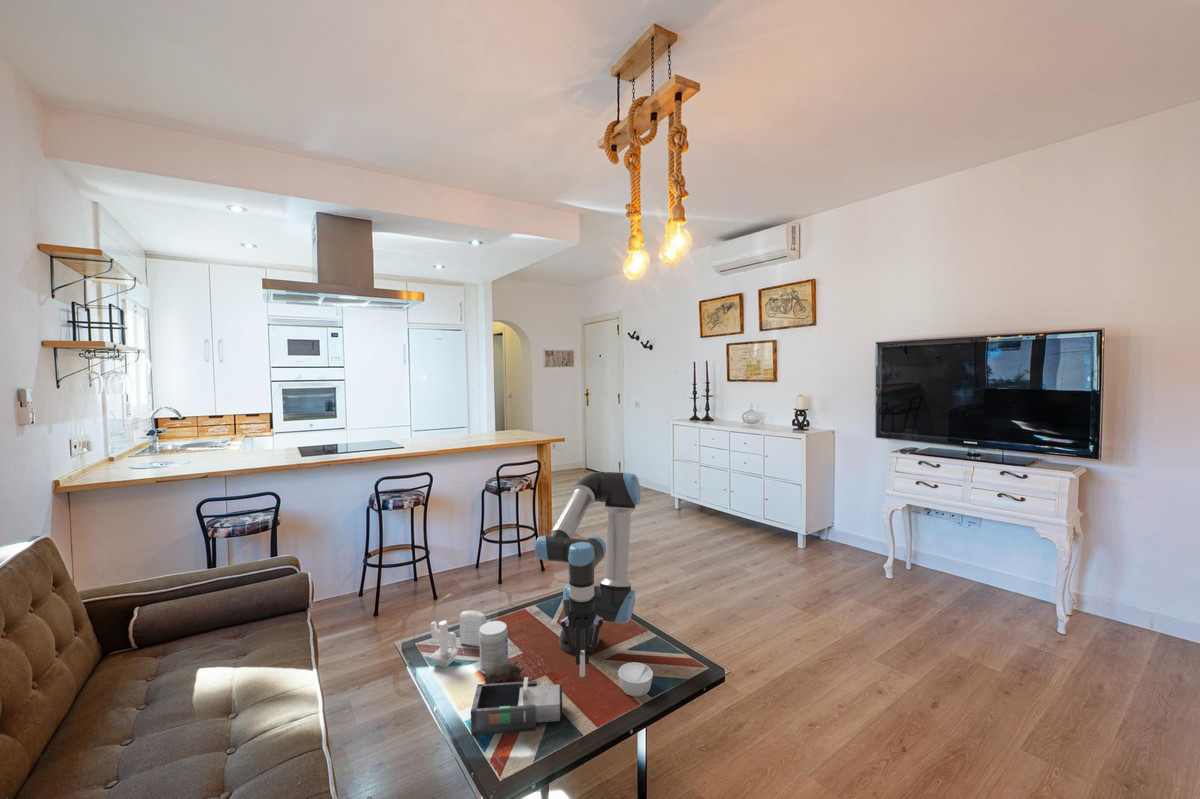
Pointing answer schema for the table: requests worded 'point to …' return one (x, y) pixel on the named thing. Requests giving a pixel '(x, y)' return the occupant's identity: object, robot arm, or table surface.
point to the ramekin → (635, 678)
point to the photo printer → (471, 627)
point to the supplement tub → (493, 645)
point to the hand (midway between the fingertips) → (582, 673)
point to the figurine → (443, 645)
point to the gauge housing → (501, 709)
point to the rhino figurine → (501, 673)
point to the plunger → (543, 701)
